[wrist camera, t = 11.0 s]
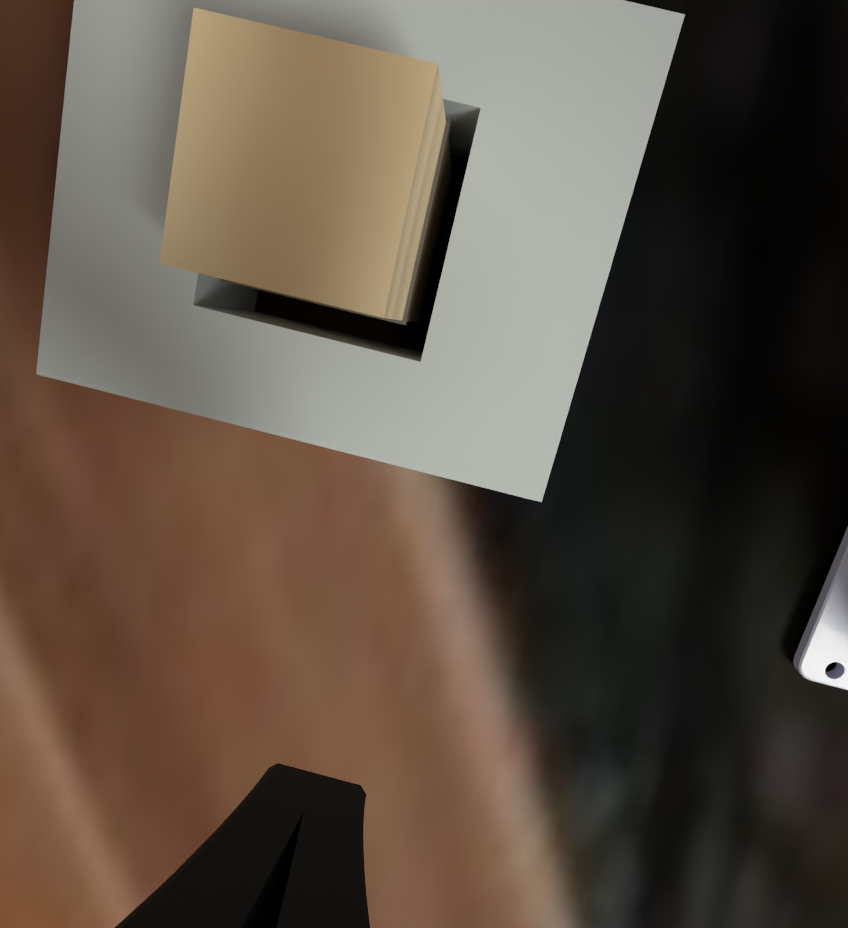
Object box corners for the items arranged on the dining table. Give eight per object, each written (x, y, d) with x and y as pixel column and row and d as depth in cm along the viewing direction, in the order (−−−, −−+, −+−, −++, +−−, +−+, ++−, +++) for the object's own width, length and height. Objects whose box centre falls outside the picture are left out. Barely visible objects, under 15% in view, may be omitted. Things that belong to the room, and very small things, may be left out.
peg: (456, 170, 17) (444, 59, 10) (421, 326, 18) (387, 324, 11) (305, 134, 17) (189, 0, 10) (277, 291, 18) (154, 267, 11)
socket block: (633, 92, 16) (684, 14, 12) (526, 465, 18) (541, 502, 14) (179, -15, 16) (86, -124, 12) (129, 365, 18) (36, 374, 15)
